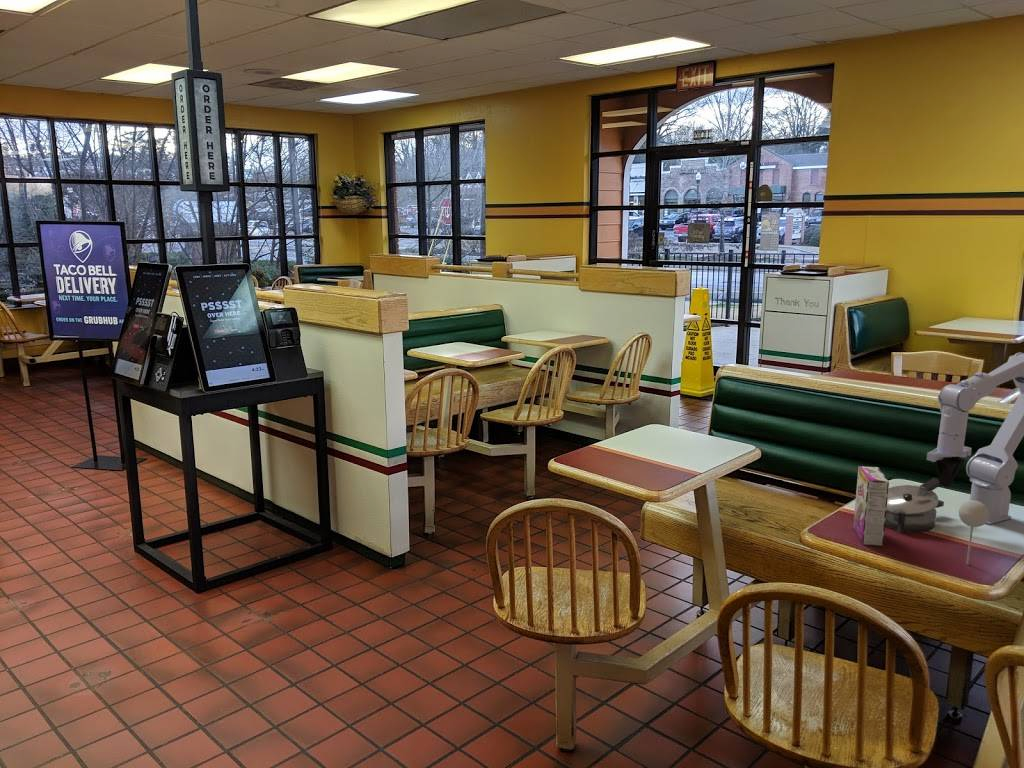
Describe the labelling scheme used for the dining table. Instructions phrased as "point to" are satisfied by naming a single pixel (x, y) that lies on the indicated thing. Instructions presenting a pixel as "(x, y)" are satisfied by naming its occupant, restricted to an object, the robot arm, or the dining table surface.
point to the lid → (913, 498)
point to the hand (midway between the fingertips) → (945, 485)
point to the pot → (913, 520)
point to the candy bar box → (871, 505)
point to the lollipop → (973, 517)
